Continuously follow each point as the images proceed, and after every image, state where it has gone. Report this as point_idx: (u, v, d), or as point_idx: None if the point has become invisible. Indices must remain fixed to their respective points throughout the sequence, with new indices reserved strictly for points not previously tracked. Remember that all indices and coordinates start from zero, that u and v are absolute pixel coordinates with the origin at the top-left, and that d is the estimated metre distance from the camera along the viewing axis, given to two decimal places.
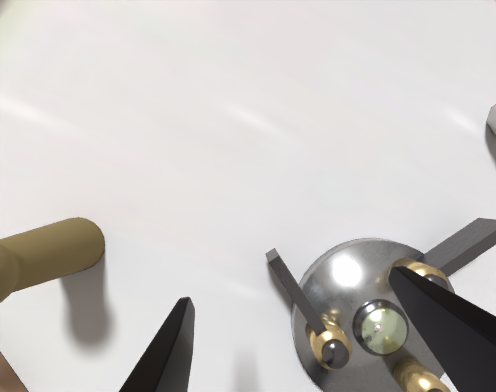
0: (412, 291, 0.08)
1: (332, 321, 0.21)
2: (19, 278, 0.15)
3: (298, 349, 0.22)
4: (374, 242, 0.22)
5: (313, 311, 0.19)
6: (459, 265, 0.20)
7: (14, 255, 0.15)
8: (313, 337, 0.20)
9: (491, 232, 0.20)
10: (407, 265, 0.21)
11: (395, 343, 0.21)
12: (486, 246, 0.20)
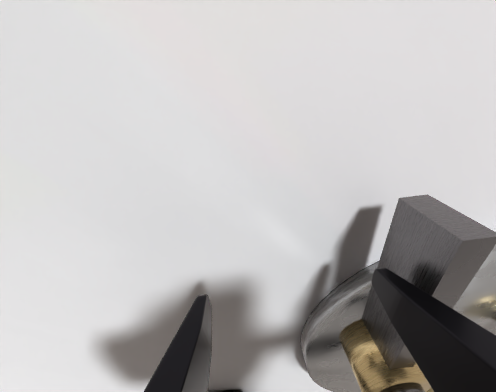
0: (393, 293, 0.08)
1: None
2: None
3: (316, 341, 0.14)
4: None
5: None
6: None
7: None
8: (375, 361, 0.11)
9: None
10: None
11: None
12: None
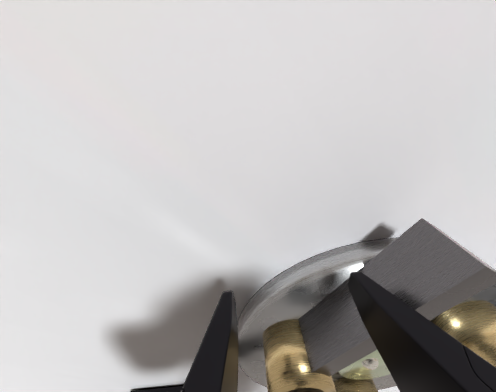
0: (365, 298, 0.08)
1: None
2: None
3: (241, 342, 0.13)
4: None
5: (359, 356, 0.09)
6: None
7: None
8: (300, 361, 0.10)
9: None
10: None
11: (372, 375, 0.15)
12: None
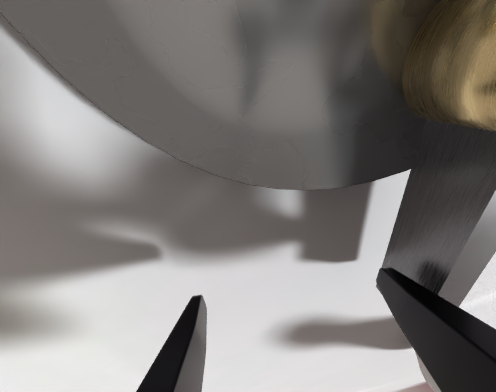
0: (399, 293, 0.08)
1: None
2: None
3: None
4: None
5: None
6: (491, 213, 0.06)
7: None
8: None
9: (456, 304, 0.08)
10: None
11: None
12: (447, 288, 0.07)
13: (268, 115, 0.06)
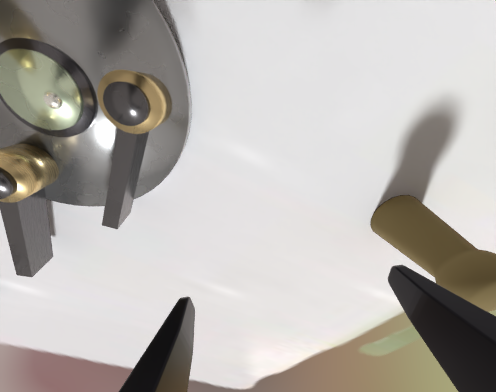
0: (412, 290, 0.08)
1: None
2: (444, 260, 0.17)
3: (181, 73, 0.14)
4: (90, 205, 0.19)
5: (115, 157, 0.14)
6: (7, 219, 0.16)
7: (435, 277, 0.18)
8: None
9: (30, 261, 0.18)
10: (44, 178, 0.15)
11: (11, 67, 0.12)
12: (15, 249, 0.17)
13: None
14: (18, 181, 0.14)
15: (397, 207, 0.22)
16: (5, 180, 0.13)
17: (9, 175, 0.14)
